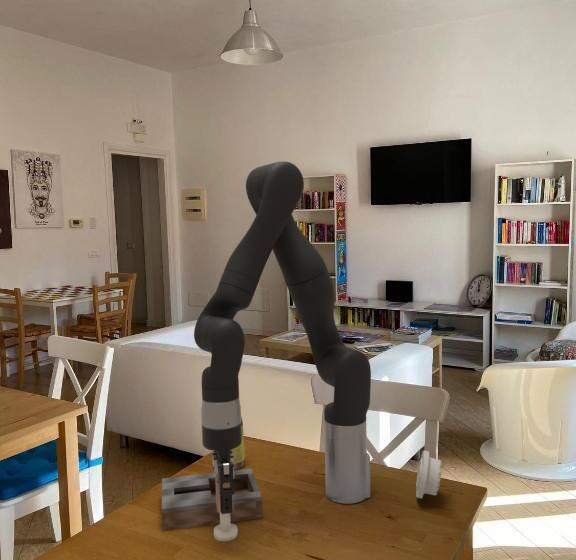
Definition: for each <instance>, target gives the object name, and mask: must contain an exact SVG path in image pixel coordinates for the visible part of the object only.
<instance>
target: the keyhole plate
mask: <svg viewBox="0 0 576 560" xmlns="http://www.w3.org/2000/svg"><path fill="white" fill-rule="evenodd" d="M234 490H235V493H234V495H233V511H232V513H230V522H231V523H234V522H243V521H251V520H259V519H262V518H263V496H262V494H261V491H260V488H259V486H258V482H257V480H256V477H255V474H254V472H253V469H252V468H244V469H242V468H241V469H237V470H234ZM161 521H162V522H161V523H162V525H161V526H162V531H170V530H179V529H189V528H197V527H205V526H211V525H212V526H213V525H214V526H215V525H219V524H220V512H219V513H218V511H217V506H216V483H215V472H209V473H200V474H192V475H191V474H190V475H189V474H188V475H183V476H182V475H181V476H173V477H163V478H162V479H161Z"/></svg>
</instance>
